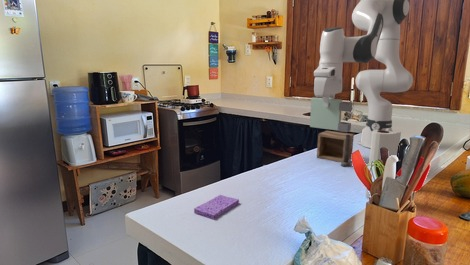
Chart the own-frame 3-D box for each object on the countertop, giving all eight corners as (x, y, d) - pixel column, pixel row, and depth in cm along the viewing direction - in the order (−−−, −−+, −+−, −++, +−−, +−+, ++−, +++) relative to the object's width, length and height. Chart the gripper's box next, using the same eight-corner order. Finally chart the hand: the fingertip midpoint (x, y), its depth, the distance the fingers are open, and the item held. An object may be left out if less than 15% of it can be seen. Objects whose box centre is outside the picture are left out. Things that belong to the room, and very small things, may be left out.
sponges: (193, 214, 88) (193, 208, 87) (220, 199, 98) (220, 193, 98) (213, 221, 84) (213, 214, 84) (239, 204, 94) (239, 198, 94)
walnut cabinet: (325, 153, 149) (326, 126, 146) (359, 159, 139) (361, 130, 137) (312, 160, 138) (313, 131, 135) (348, 167, 128) (351, 136, 126)
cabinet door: (312, 125, 133) (314, 97, 130) (350, 130, 124) (352, 100, 121) (308, 127, 130) (310, 98, 127) (347, 132, 121) (349, 101, 118)
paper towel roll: (362, 198, 98) (369, 131, 93) (369, 192, 102) (375, 128, 98) (387, 205, 93) (395, 134, 89) (393, 198, 98) (401, 131, 93)
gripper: (332, 69, 132) (330, 102, 135) (311, 71, 116) (310, 108, 120) (347, 70, 128) (345, 103, 131) (328, 72, 113) (325, 110, 116)
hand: (328, 106), depth 125 cm, fingers closed on cabinet door, 2 cm apart
